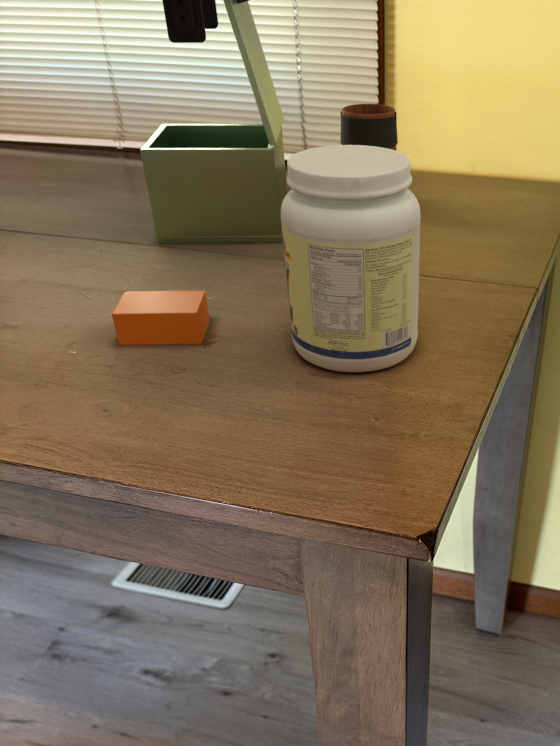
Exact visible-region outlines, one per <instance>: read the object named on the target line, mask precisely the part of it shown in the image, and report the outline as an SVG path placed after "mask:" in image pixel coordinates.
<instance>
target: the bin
mask: <svg viewBox="0 0 560 746" xmlns="http://www.w3.org/2000/svg"><path fill="white" fill-rule="evenodd" d="M139 151H140V157H141V162H142V167H143V173H144V177H145V182H146V188H147V193H148V199H149V202H150V208H151V213H152V218H153V224H154V228H155V229H154V230H155V233H156V239H157V243H158V244H219V243H220V244H222V243H223V244H228V243H229V244H234V243H236V244H238V243H242V244H243V243H248V244H249V243H250V244H251V243H283V233H282V223H281V206H282V202H283V200H284V198H285V196H286V195H287V194H288V184H287V172H286V162H285V150H284V138H283V126H282V127H281V130H280V133H279V136H278V140H277V143H276V144H275V145H272V146H270V144H269V141H268V138H267V135H266V132H265V129H264V126H263V123H161V124H160V125H159V127H158V128H157V129H156V130H155V132H154V133H153V134H152V135H151V136H150V137H149V139H148V140H146V142H145V143H144V144H143V145H142V147H141V148H140V149H139Z"/></svg>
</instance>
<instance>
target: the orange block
mask: <svg viewBox="0 0 560 746" xmlns="http://www.w3.org/2000/svg"><path fill="white" fill-rule="evenodd" d="M111 317H112V322H113V326H114V329H115V334H116V337H117V342H118V345H119V346H144V345H145V346H146V345H147V346H149V345H151V346H152V345H202V344H203V342H204V339H205V337H206V333H207V330H208V328H209V325H210V322H211V317H210V313H209V306H208V300H207V294H206V290H138V291H137V290H133V291H127V290H125V291H124V292H123V294H122V295H121V297H120V299H119V301H118V302H117V304H116V306H115V307H114V309H113V311H112V312H111Z"/></svg>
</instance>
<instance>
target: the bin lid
mask: <svg viewBox="0 0 560 746" xmlns="http://www.w3.org/2000/svg"><path fill="white" fill-rule="evenodd" d="M222 1H223V5H224V8H225V11H226V14H227V18H228V21H229V23H230V26H231V30H232V33H233V36H234V39H235V42H236V46H237V48H238V51H239V55H240V57H241V60H242V64H243V67H244V71H245V73H246V76H247V79H248V82H249V85H250V89H251V91H252V94H253V99H254V101H255V104H256V107H257V110H258V114H259V116H260V119H261V124H263V126H264V129H265V132H266V135H267V138H268V141H269V144H270V146H272V145H275V144H276V143H277V140H278V136H279V133H280V130H281V127H282V128H283V123H284V121H285V119H284V118H285V117H284V115H283V111H282V107H281V106H280V102H279V98H278V95H277V92H276V88H275V86H274V81H273V79H272V75H271V72H270V69H269V65H268V62H267V59H266V55H265V51H264V49H263V46H262V43H261V39H260V36H259V33H258V29H257V25H256V23H255V20H254V16H253V13H252V10H251V6H250V4H249V3H250V0H222Z"/></svg>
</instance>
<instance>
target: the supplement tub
mask: <svg viewBox="0 0 560 746" xmlns="http://www.w3.org/2000/svg"><path fill="white" fill-rule="evenodd" d="M286 166H287V175H286V183H287V186H288V187H289V188H290V190H289V191H287V195H286V196H285V198H284V200H283V202H282V206H281V223H282V233H283V240H282V244H283V253H284V264H285V273H286V284H287V285H286V286H287V295H288V303H289V305H288V307H289V318H290V326H291V327H290V328H291V340H292V343H293V345H294V348H295V350H296V352H298V354H299V355H300V356H301V358H303V359H304V360H305V361H307V362H309V363H311V364H313V365H314V366H317V367H320V368H322V369H326V370H330V371H335V372H342V373H368V372H374V371H380V370H384V369H388V368H390V367H393V366H395V365H397V364H399V363H401V362H402V361H404V360H405V359H406V358H408V357H409V355H411V353H412V352H413V350H414V349H415V347H416V345H417V341H418V336H419V300H420V299H419V296H420V295H419V294H420V256H421V252H420V251H421V219H422V214H421V206H420V203H419V201H418V198H417V197H416V195H415V194H414V192H413V191H411V189H409V187H410V186H411V185H412V183H413V176H412V174H411V159H410V157H409V156H408V155H407V154H406V153H403V152H400V151H398V150H396V151H395V150H392V149H387V148H382V147H376V146H366V145H342V144H335V145H324V146H317V147H311V148H307V149H303V150H300V151H298V152H295V153H293V154H292V155H290V156H289V157H288V158H287V162H286Z"/></svg>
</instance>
